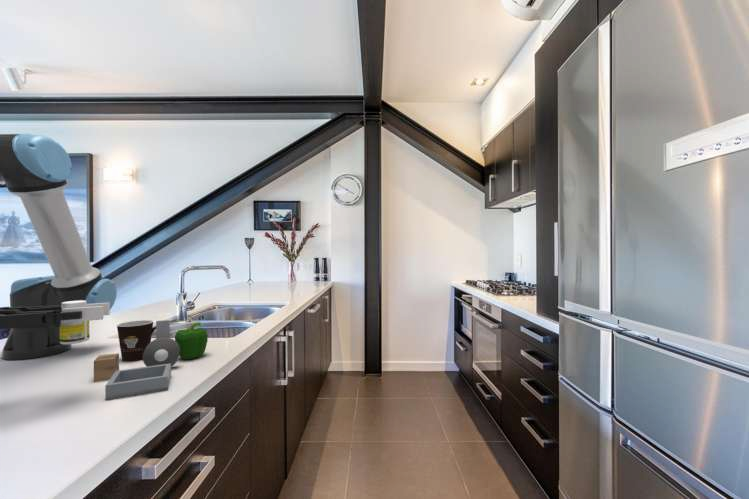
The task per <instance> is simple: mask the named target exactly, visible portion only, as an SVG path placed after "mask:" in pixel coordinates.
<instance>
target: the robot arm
mask: <svg viewBox="0 0 749 499" xmlns="http://www.w3.org/2000/svg"><path fill="white" fill-rule="evenodd" d="M72 168H73V165H72V160H71V158H70V156H69V154H68V152H67V151H66V149H65V147H63V146H62V145H61V144H60V143H59V142H57V141H55V140H54V139H52V138H51V137H49V136H46V135H43V134H31V133H0V182H4V184H5V185H6V189H7V190H8V192H9V193H10V194H12V195H15V196H17V197H19V198H20V200H21V202H22V205H23V208H24V209H25V211H26V213H27V215H28V218H29V220H30V222H31V225H32V228H33V230H34V232H35V234H36V236H37V238H38V241H39V243H40V245H41V248H42V250H43V252H44V254H45V257H46V259H47V261H48V264H49V266H50V268H51V270H52V272H53V275H46V276H37V277H29V278H22V279H17V280H15V281H13V282H12V283H11V285H10V293H9V305H10V306H2V307H1V306H0V330H8V329H9V330H10V331H9V334H8V336H7V338H6V341H5V344H4V346H3V348H2V353H1V354H2V356H1V359H2V360H8V361H15V360H16V361H17V360H28V359H29V360H30V359H36V358H37V359H38V358H43V357H47V356H52V355H56V354H60V353H63V352H66V351H69V350H71V349H72V344H60V326H61V320H62V323H66V322H78V321H89V322H90V321H101V320H104V316H110V314H111V313H110V311H111V309H112V308H113V307H114V305H115V302H116V299H117V296H118V294H117V291H118V290H117V286H116V283H115V282H114V281H113V280H111V279H109V278H103V276H102V273H101V270H100V269H99V268H97V267H94V266H92V264H91V262H90V259H89V257H88V256H89V255H88V253H87V251H86V249H85V246H84V243H83V241H82V238H81V236H80V233H79V231H78V230H79V229H78V228H77V225H76V222H75V220H74V218H73V214H72V212H71V209H70V207H69V205H68V201H67V199H66V196H65V194H64V190H65V188H66V187H67V186H68V182H67V179H69V177H70V176H71V174H72V171H71V170H72ZM79 300H84V301H87V307H82V308H67V309H62V308H61V303H63V302H68V301H79Z"/></svg>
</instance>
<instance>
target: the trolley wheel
mask: <svg viewBox="0 0 749 499" xmlns="http://www.w3.org/2000/svg"><path fill="white" fill-rule="evenodd" d="M170 320H171V319H164V320H163V319H162V320H156V323H155V327H156V329H155V332H156V333H155V334H156V335H155V339H154V340H151V342H150V343H149V344H148V346H147V347H146V349H145V350H144V353H143V360H142V361H143V364H144V365H145V367H148V366H155V365H163V364H170V363H171V368H172V367H174V365H175V364H176V363H178V359H179V358H180V356H179V353H180V348H179V345H178V343H177V342H176V341H175V339H173V338H171V337H170V336H171V334H170V333H171V332H170V331H171V329H170V326H171V325H170V324H171V322H170Z"/></svg>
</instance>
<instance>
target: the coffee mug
mask: <svg viewBox="0 0 749 499" xmlns="http://www.w3.org/2000/svg"><path fill="white" fill-rule="evenodd" d="M153 326H154V320H148V319H147V320H142V319H141V320H132V321H126V322H122V323H118V324H117V325H116V328H117V335H118V343H119V348H120V349H119V350H120V356H121V361H122V362H125V363H126V362H129V363H130V362H138V361H143V353H144V350H145V349H146V347H147V346H148V344H149V343H150V342H152V336H153V334H154V332H155V331H156V326H155V327H153Z"/></svg>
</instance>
